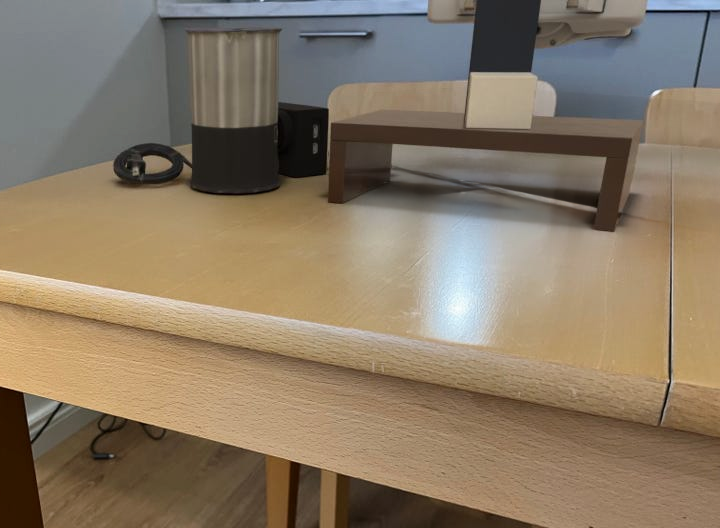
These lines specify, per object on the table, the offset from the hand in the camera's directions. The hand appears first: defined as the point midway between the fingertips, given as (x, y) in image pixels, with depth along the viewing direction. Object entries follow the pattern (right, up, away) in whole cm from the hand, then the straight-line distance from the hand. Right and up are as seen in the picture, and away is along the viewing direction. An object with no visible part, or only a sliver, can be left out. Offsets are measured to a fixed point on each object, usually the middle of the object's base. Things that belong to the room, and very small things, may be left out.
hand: (519, 0), depth 68 cm
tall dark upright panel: (-3, -12, -2) cm, 12 cm away
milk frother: (-30, -15, +9) cm, 34 cm away
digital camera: (-21, -11, +17) cm, 29 cm away
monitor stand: (-4, -18, +1) cm, 18 cm away
